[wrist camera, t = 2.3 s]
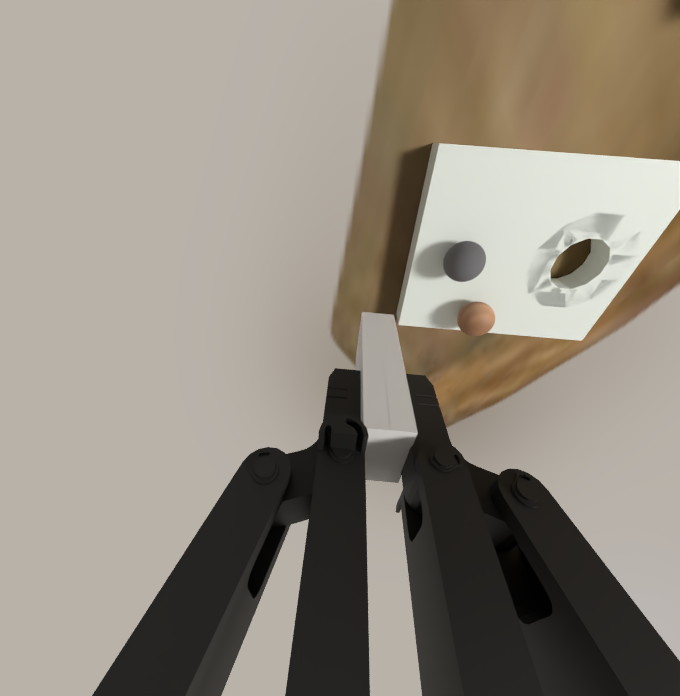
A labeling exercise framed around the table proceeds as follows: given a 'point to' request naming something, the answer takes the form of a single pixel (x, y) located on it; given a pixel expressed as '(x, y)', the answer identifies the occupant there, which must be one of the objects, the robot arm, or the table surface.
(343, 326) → the table surface
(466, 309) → the wood ball
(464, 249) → the ball
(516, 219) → the plate
